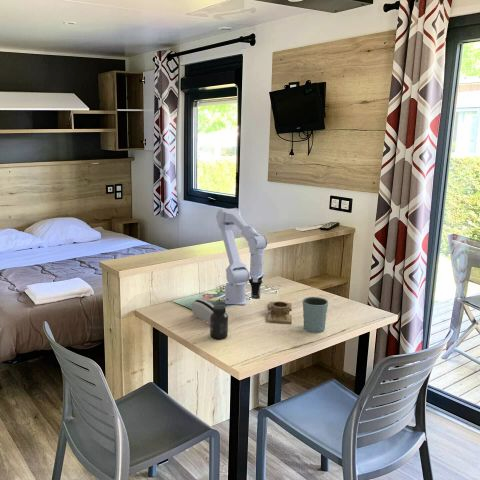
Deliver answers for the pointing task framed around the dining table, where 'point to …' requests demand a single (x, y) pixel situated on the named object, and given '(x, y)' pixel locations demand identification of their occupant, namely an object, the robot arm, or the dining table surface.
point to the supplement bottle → (219, 323)
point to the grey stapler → (202, 309)
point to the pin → (255, 295)
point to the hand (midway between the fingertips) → (255, 293)
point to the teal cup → (314, 314)
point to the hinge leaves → (280, 312)
